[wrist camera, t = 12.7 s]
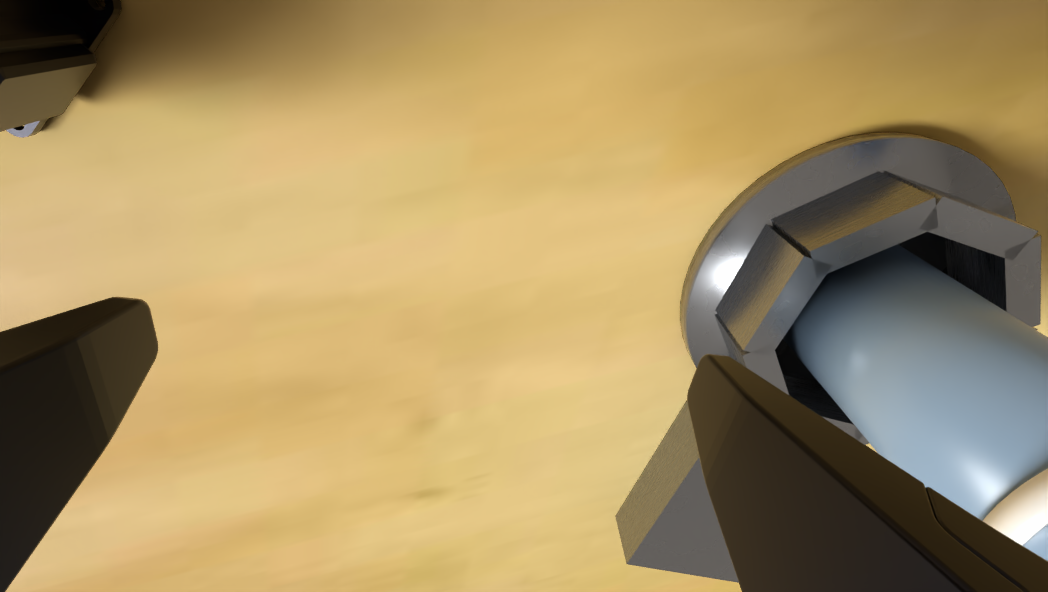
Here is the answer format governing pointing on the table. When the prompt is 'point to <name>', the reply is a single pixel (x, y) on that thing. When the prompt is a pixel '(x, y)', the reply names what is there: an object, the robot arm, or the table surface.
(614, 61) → the table surface
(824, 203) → the duct collar
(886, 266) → the duct elbow
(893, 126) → the table surface
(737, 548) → the robot arm
